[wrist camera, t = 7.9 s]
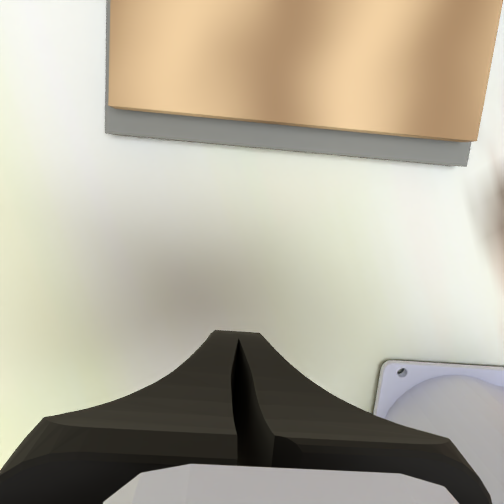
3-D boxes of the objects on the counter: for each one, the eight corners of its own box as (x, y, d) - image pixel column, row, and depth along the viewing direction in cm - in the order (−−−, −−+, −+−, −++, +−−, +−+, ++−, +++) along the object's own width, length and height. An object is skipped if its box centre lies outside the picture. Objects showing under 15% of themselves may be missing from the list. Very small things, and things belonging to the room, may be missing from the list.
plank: (500, -63, 17) (517, -78, 16) (463, 142, 18) (477, 140, 17) (120, -112, 16) (112, -131, 15) (115, 108, 17) (108, 105, 16)
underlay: (511, -132, 17) (528, -149, 16) (455, 165, 20) (466, 166, 19) (116, -186, 16) (108, -208, 15) (111, 134, 19) (105, 133, 18)
